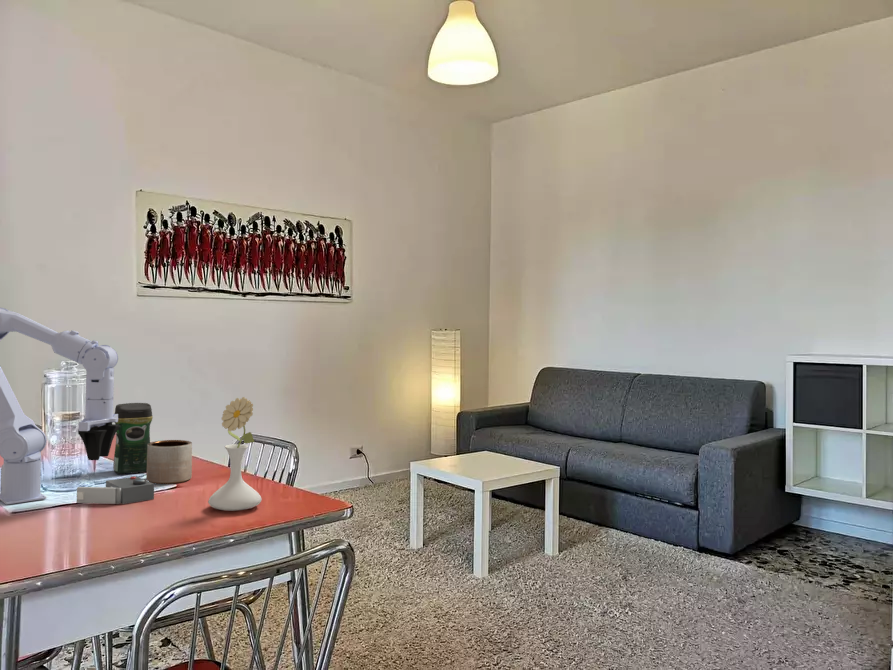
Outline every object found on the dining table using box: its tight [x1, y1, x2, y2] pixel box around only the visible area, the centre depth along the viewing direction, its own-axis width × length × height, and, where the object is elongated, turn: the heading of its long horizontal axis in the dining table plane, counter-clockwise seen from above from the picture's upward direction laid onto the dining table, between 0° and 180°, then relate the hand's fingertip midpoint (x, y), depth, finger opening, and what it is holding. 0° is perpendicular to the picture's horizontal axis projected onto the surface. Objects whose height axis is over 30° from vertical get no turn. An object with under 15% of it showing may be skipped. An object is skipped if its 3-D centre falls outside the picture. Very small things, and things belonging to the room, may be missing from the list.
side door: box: [76, 486, 121, 505], centre depth 153 cm, size 10×1×3 cm, turn 91°
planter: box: [146, 439, 193, 485], centre depth 178 cm, size 11×11×10 cm
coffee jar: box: [112, 402, 154, 475], centre depth 187 cm, size 10×8×19 cm
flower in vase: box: [207, 396, 263, 512], centre depth 152 cm, size 13×11×25 cm
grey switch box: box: [105, 476, 155, 505], centre depth 160 cm, size 10×7×4 cm
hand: (98, 458), depth 157 cm, fingers open, 4 cm apart
